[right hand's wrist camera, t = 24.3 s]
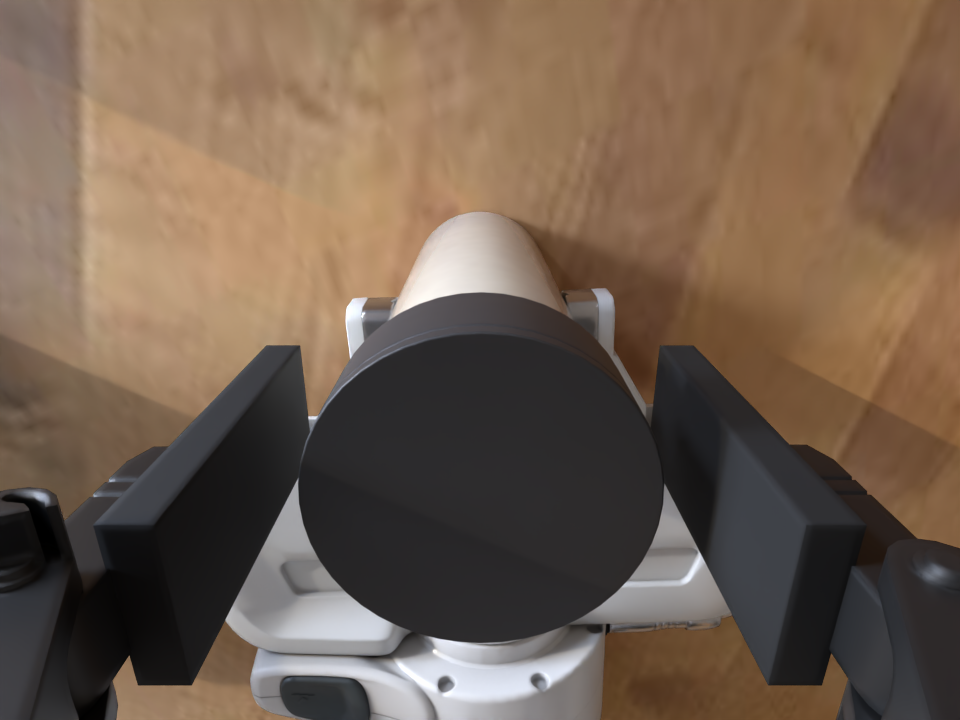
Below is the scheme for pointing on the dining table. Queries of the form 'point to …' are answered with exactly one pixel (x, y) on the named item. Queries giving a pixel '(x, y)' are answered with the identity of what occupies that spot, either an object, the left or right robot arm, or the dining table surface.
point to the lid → (481, 472)
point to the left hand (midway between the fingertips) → (478, 297)
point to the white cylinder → (480, 263)
